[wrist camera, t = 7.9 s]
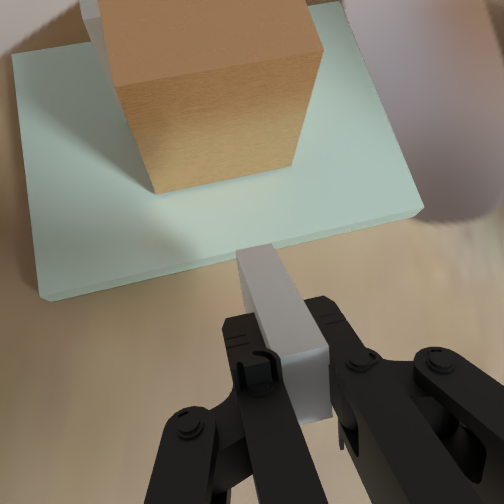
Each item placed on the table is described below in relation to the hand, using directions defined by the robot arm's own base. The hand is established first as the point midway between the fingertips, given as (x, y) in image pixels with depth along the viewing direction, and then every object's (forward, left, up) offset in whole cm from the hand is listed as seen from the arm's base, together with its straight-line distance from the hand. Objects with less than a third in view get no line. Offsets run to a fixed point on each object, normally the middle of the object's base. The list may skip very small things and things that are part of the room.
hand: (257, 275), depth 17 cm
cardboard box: (0, -14, -5) cm, 15 cm away
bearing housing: (0, -11, -7) cm, 13 cm away
